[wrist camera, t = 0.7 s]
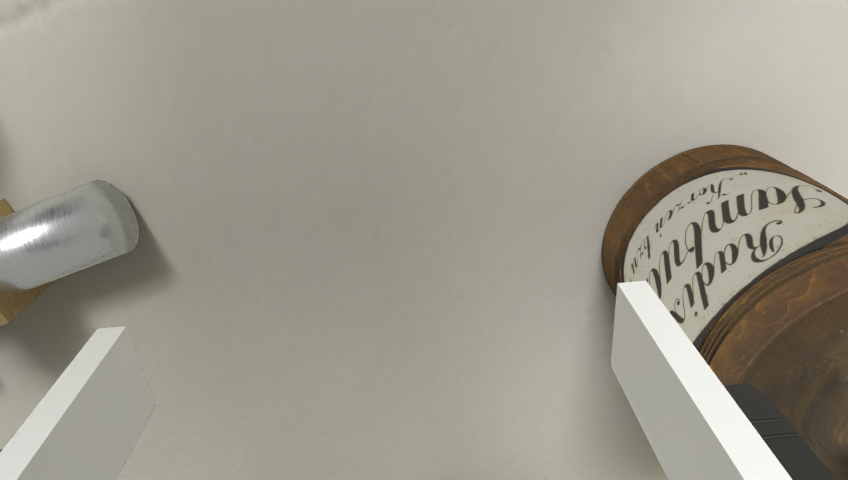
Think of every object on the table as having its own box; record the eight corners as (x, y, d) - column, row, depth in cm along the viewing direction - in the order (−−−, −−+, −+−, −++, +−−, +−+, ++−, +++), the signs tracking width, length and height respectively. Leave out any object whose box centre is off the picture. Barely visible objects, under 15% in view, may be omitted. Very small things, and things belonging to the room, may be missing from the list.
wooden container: (706, 100, 39) (1019, 251, 19) (840, 216, 43) (1208, 437, 24) (559, 260, 44) (688, 510, 24) (692, 350, 48) (893, 624, 29)
